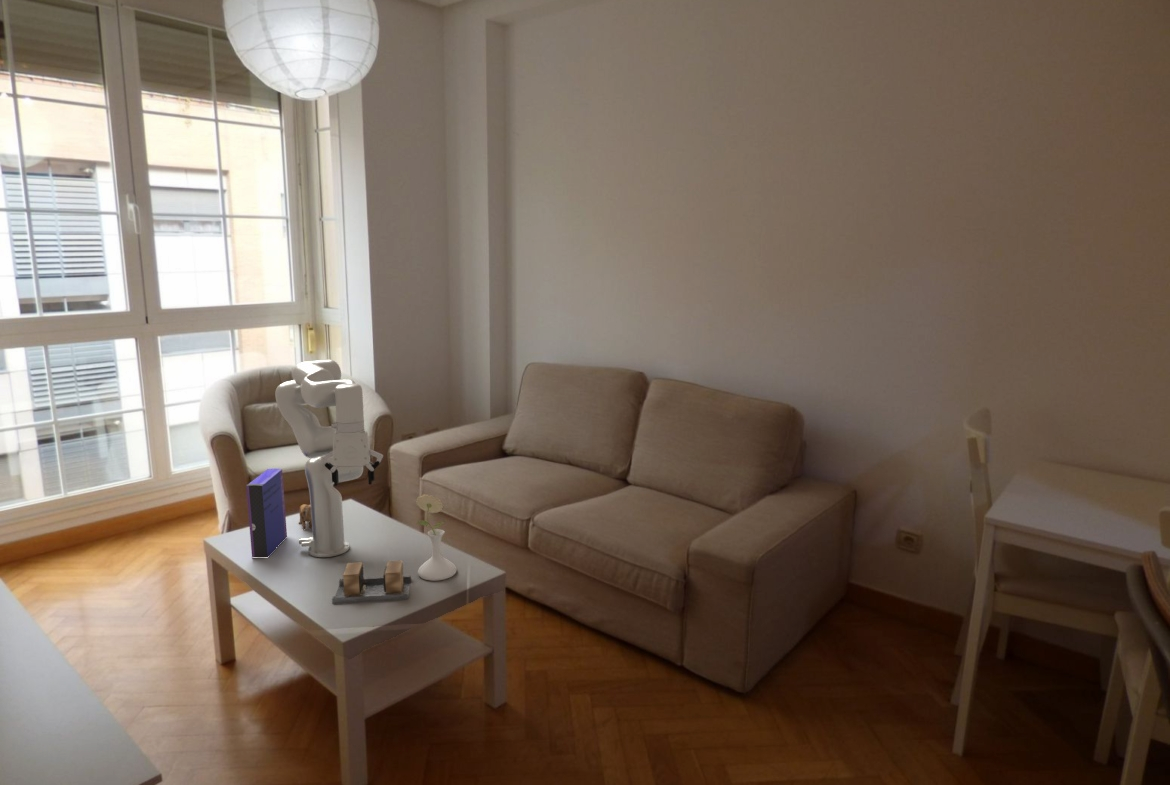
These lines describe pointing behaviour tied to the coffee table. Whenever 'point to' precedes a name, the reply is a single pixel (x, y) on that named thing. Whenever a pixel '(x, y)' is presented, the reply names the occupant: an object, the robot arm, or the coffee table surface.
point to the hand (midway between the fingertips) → (353, 483)
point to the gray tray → (372, 591)
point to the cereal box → (266, 512)
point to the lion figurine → (305, 515)
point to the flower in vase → (434, 544)
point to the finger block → (353, 579)
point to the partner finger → (393, 577)
